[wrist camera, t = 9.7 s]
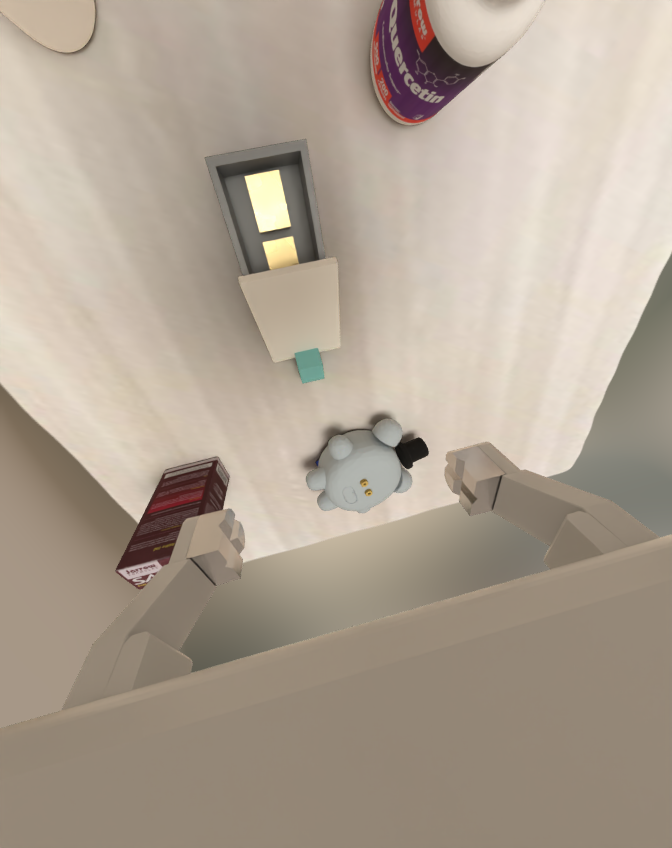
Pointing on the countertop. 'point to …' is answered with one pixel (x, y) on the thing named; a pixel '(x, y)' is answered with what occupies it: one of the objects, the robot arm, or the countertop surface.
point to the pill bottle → (439, 49)
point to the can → (53, 21)
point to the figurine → (365, 467)
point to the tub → (239, 207)
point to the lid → (297, 312)
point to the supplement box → (172, 516)
